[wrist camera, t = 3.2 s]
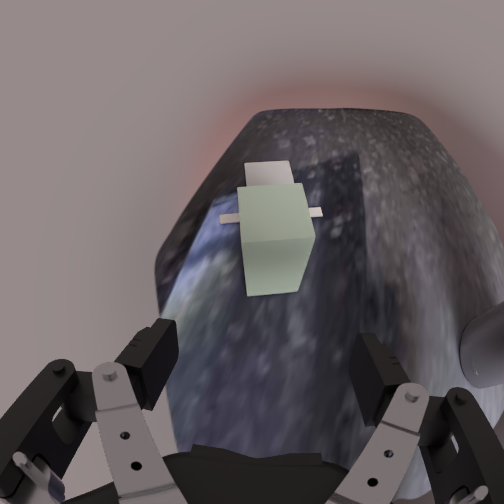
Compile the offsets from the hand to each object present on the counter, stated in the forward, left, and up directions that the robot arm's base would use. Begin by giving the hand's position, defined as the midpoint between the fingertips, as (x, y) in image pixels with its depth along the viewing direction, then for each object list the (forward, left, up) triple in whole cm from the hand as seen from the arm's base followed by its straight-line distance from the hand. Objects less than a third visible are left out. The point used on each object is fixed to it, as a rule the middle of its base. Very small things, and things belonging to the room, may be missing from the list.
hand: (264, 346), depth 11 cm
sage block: (-2, -10, -14) cm, 17 cm away
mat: (-3, -23, -14) cm, 27 cm away
